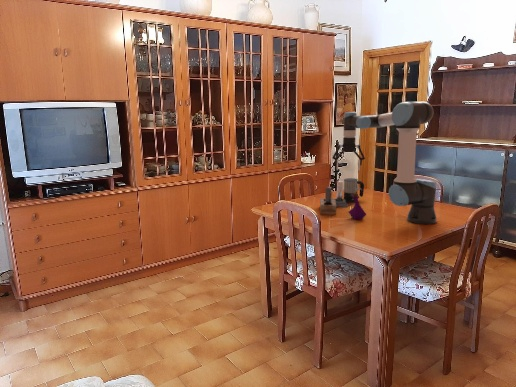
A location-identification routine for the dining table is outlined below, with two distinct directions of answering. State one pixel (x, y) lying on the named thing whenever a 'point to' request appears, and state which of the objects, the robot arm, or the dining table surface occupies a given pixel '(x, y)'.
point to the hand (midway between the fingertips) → (348, 170)
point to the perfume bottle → (357, 208)
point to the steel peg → (339, 190)
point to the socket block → (341, 203)
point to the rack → (327, 207)
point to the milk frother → (352, 188)
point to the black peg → (328, 195)
